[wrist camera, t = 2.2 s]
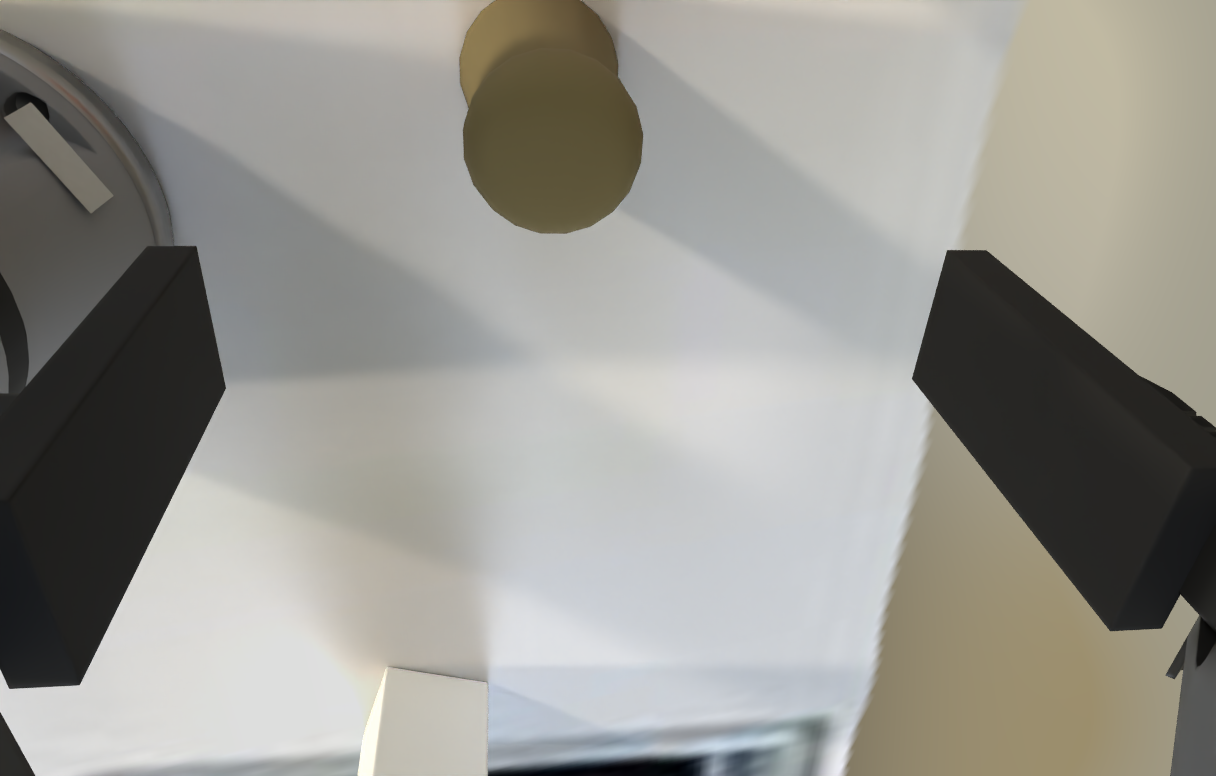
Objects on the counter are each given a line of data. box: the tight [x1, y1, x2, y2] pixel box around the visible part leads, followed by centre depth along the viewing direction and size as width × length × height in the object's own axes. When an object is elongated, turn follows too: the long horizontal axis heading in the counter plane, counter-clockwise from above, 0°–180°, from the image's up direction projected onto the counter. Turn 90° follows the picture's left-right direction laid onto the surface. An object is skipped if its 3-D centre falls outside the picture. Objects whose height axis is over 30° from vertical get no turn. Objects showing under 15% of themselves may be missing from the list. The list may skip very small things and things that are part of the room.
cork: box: [460, 0, 643, 234], centre depth 28 cm, size 6×6×11 cm
